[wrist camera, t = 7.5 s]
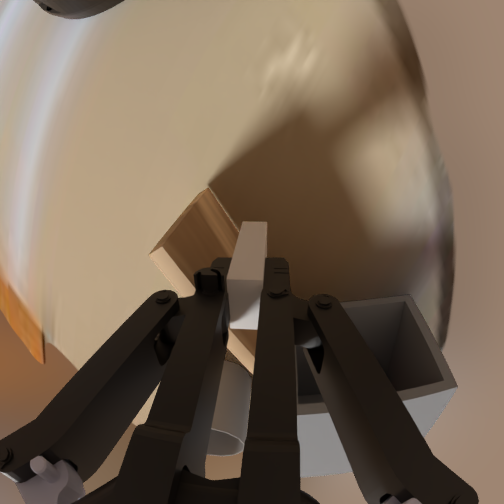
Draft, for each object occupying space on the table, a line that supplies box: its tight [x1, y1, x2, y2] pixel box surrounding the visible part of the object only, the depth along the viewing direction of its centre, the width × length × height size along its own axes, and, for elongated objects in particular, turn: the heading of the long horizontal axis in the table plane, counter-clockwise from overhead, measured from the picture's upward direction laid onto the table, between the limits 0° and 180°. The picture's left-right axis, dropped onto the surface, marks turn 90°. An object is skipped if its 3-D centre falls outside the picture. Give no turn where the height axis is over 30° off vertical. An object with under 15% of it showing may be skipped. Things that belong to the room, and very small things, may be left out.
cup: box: [206, 360, 252, 456], centre depth 32 cm, size 8×8×10 cm
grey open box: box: [295, 295, 458, 477], centre depth 27 cm, size 16×14×13 cm
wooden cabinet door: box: [149, 188, 257, 374], centre depth 22 cm, size 2×14×11 cm, turn 32°
